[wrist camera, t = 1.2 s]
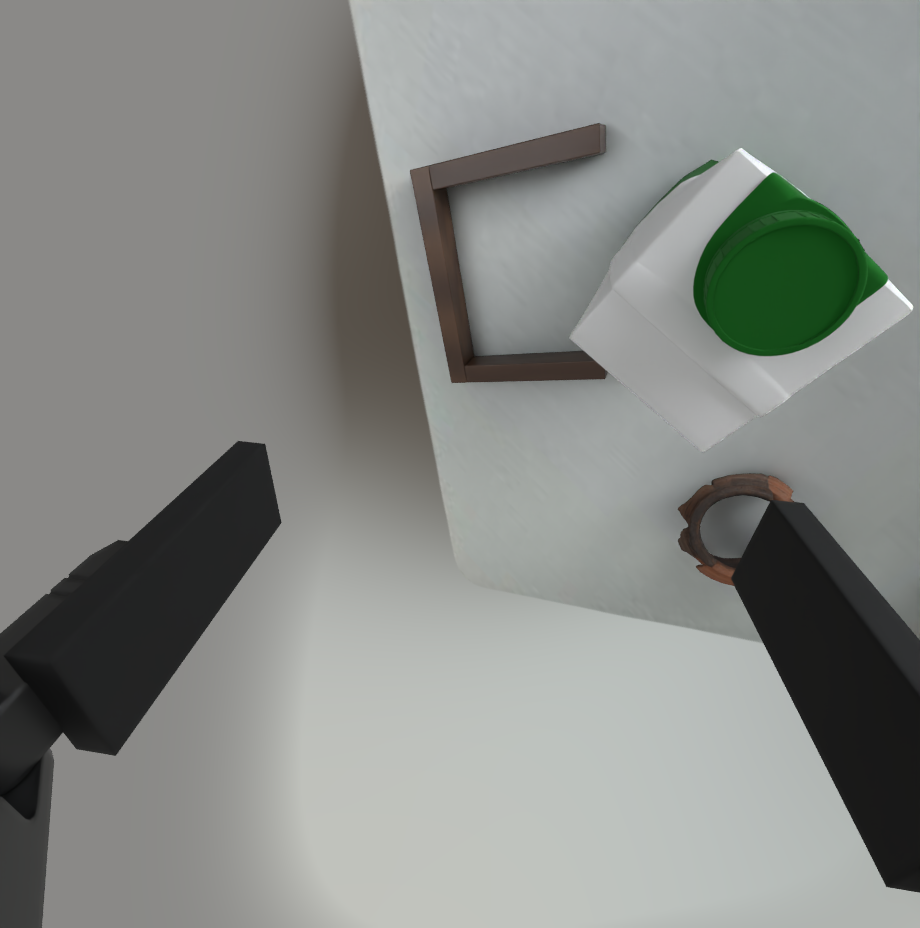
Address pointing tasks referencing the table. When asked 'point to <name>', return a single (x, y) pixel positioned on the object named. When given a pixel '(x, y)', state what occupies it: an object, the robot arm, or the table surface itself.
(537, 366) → the bay
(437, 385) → the table surface
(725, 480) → the broken clay pot
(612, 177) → the table surface
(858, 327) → the white and green carton
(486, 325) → the table surface
